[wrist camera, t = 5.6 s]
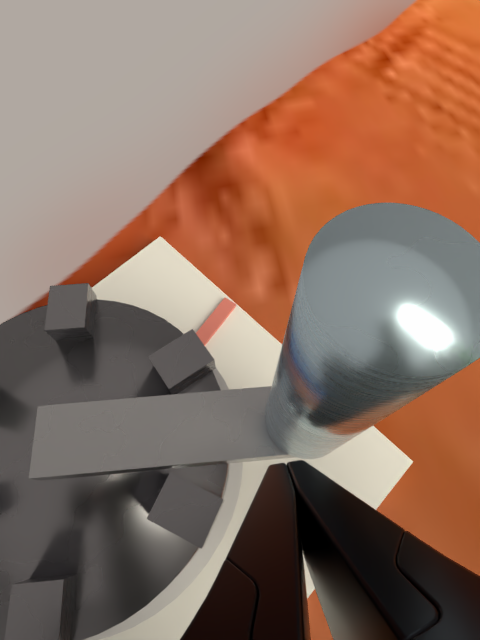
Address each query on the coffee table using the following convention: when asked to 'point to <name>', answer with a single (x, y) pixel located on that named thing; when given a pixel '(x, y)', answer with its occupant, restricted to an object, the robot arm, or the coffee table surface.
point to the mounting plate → (238, 371)
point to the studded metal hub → (203, 412)
